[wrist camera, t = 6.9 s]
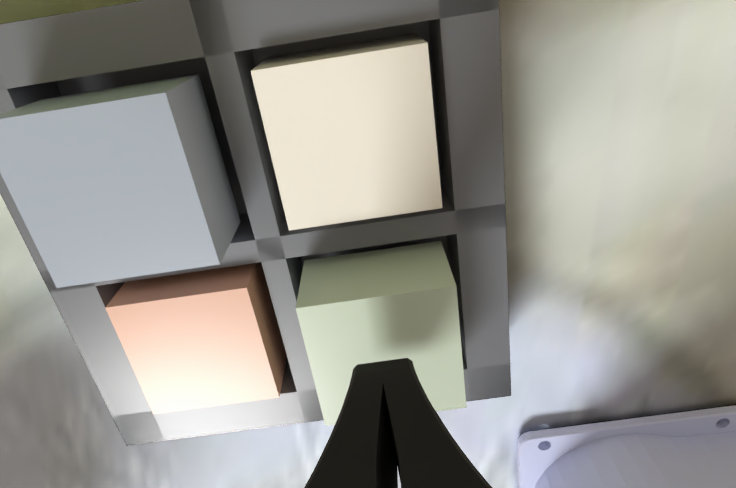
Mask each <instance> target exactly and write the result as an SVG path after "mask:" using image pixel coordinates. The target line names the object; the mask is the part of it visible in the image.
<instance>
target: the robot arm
mask: <svg viewBox="0 0 736 488" xmlns="http://www.w3.org/2000/svg"><path fill="white" fill-rule="evenodd" d="M543 441H545V442H543ZM541 442H542V443H541ZM517 458H518V488H736V405H734V406H726V407H718V408H710V409H703V410H695V411H687V412H679V413H671V414H663V415H655V416H647V417H639V418H632V419H624V420H616V421H608V422H600V423H592V424H584V425H576V426H568V427H561V428H553V429H545V430H537V431H529V432H525V433H523V434H522V435H520V437H519V438H518V440H517ZM397 466H398V471H399V476H400V481H401V488H492V487H491V486H490V485H489V484H488V482H487V481H486V480H485V479H484V478H483V476H482V475H481V474H480V473H479V472H478V470H477V469H476V468H475V467H474V466H473V464H472V463H471V462H470V460H469V459H468V458H467V457H466V455H465V454H464V453H463V451H462V450H461V449H460V447H459V446H458V444H457V443H456V442H455V440H454V439H453V437H452V436H451V434H450V433H449V431H448V430H447V428H446V427H445V425H444V424H443V422H442V421H441V419H440V417H439V416H438V414H437V413H436V411H435V409H434V408H433V406H432V404H431V403H430V401H429V399H428V397H427V395H426V393H425V391H424V389H423V387H422V385H421V383H420V381H419V379H418V376H417V374H416V371H415V369H414V365H413V361H412V360H410V359H409V358H402V359H394V360H387V361H380V362H372V363H365V364H358V365H356V366H355V367H354V368H353V372H352V377H351V381H350V384H349V388H348V391H347V394H346V397H345V400H344V403H343V406H342V409H341V411H340V414H339V416H338V419H337V421H336V424H335V426H334V429H333V431H332V433H331V436H330V438H329V440H328V442H327V444H326V447H325V449H324V451H323V453H322V455H321V457H320V459H319V461H318V463H317V465H316V467H315V469H314V471H313V473H312V475H311V477H310V479H309V480H308V482H307V484H306V486H305V488H398V480H397Z"/></svg>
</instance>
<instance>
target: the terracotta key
mask: <svg viewBox="0 0 736 488" xmlns="http://www.w3.org/2000/svg"><path fill="white" fill-rule="evenodd" d="M105 309H106V311H107V313H108V315H109V317H110V320H111V322H112V324H113V326H114V329H115V331H116V333H117V335H118V337H119V340H120V342H121V344H122V346H123V349H124V351H125V353H126V355H127V357H128V360H129V362H130V364H131V366H132V368H133V371H134V373H135V375H136V377H137V380H138V382H139V384H140V386H141V388H142V391H143V393H144V395H145V397H146V400H147V402H148V404H149V406H150V408H151V411H152V413H153V414H160V413H168V412H175V411H183V410H190V409H198V408H205V407H213V406H220V405H228V404H236V403H243V402H251V401H258V400H266V399H273V398H279V397H280V392H281V386H282V381H283V375H284V370H285V364H286V359H287V354H286V350H285V347H284V343H283V340H282V336H281V332H280V329H279V325H278V321H277V318H276V314H275V310H274V307H273V303H272V300H271V296H270V292H269V289H268V285H267V281H266V278H265V274H264V271H263V267H262V263H261V262H259V263H252V264H245V265H238V266H231V267H224V268H217V269H210V270H203V271H196V272H189V273H182V274H175V275H168V276H162V277H155V278H148V279H141V280H134V281H127V282H125V283H124V284H123V285H122V287H121V288H120V289H119V291H118V292H117V293H116V294H115V296H114V297H113V298H112V300H111V301H110V302H109V303H108V305H107V306H106V307H105Z"/></svg>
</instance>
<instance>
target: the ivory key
mask: <svg viewBox="0 0 736 488" xmlns="http://www.w3.org/2000/svg"><path fill="white" fill-rule="evenodd" d="M251 75H252V79H253V83H254V88H255V92H256V96H257V100H258V104H259V108H260V113H261V117H262V121H263V125H264V129H265V133H266V138H267V142H268V146H269V150H270V154H271V158H272V163H273V167H274V171H275V175H276V179H277V183H278V188H279V192H280V196H281V200H282V204H283V208H284V213H285V217H286V221H287V225H288V229H289V231H290V230H296V229H303V228H310V227H317V226H324V225H331V224H337V223H344V222H351V221H358V220H365V219H372V218H378V217H385V216H392V215H399V214H406V213H413V212H419V211H426V210H433V209H440V208H442V196H441V185H440V174H439V163H438V152H437V141H436V130H435V119H434V108H433V97H432V86H431V74H430V63H429V52H428V42H426V41H425V40H423V39H422V38H421V37H419V36H418V35H417V34H410V35H404V36H398V37H391V38H385V39H379V40H373V41H367V42H360V43H354V44H348V45H342V46H336V47H329V48H323V49H317V50H311V51H305V52H298V53H292V54H286V55H280V56H274V57H267V58H266V59H265V60H264V61H262V62H261V63H260V64H259V65H257V66H256V67H255V68H254V69H252V70H251Z"/></svg>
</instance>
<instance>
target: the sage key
mask: <svg viewBox="0 0 736 488" xmlns="http://www.w3.org/2000/svg"><path fill="white" fill-rule="evenodd" d="M296 312H297V316H298V320H299V324H300V328H301V332H302V336H303V340H304V344H305V348H306V352H307V355H308V359H309V363H310V367H311V371H312V375H313V379H314V383H315V387H316V391H317V395H318V399H319V403H320V407H321V411H322V415H323V419H324V423H325V426H327V425H335V424H336V421H337V419H338V416H339V414H340V411H341V409H342V406H343V403H344V400H345V397H346V394H347V391H348V388H349V384H350V381H351V377H352V372H353V368H354V367H355V366H356V365H358V364H365V363H372V362H380V361H387V360H394V359H402V358H409V359H410V360H412V361H413V365H414V369H415V371H416V374H417V376H418V379H419V381H420V383H421V385H422V387H423V389H424V391H425V393H426V395H427V397H428V399H429V401H430V403H431V404H432V406H433V408H434V409H435V411H443V410H451V409H458V408H466V395H465V383H464V371H463V359H462V347H461V335H460V323H459V311H458V299H457V287H456V283H455V280H454V278H453V275H452V272H451V269H450V266H449V263H448V260H447V257H446V254H445V252H444V249H443V246H442V243H441V241H437V242H430V243H423V244H416V245H409V246H402V247H395V248H388V249H381V250H374V251H367V252H360V253H353V254H346V255H339V256H332V257H325V258H318V259H312V260H305V261H304V265H303V270H302V276H301V281H300V287H299V292H298V298H297V303H296Z"/></svg>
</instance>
